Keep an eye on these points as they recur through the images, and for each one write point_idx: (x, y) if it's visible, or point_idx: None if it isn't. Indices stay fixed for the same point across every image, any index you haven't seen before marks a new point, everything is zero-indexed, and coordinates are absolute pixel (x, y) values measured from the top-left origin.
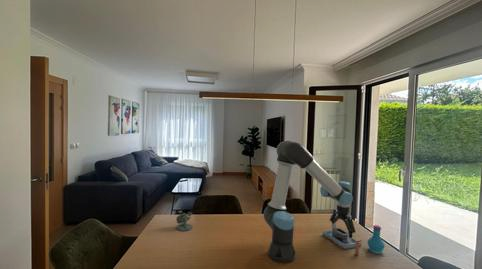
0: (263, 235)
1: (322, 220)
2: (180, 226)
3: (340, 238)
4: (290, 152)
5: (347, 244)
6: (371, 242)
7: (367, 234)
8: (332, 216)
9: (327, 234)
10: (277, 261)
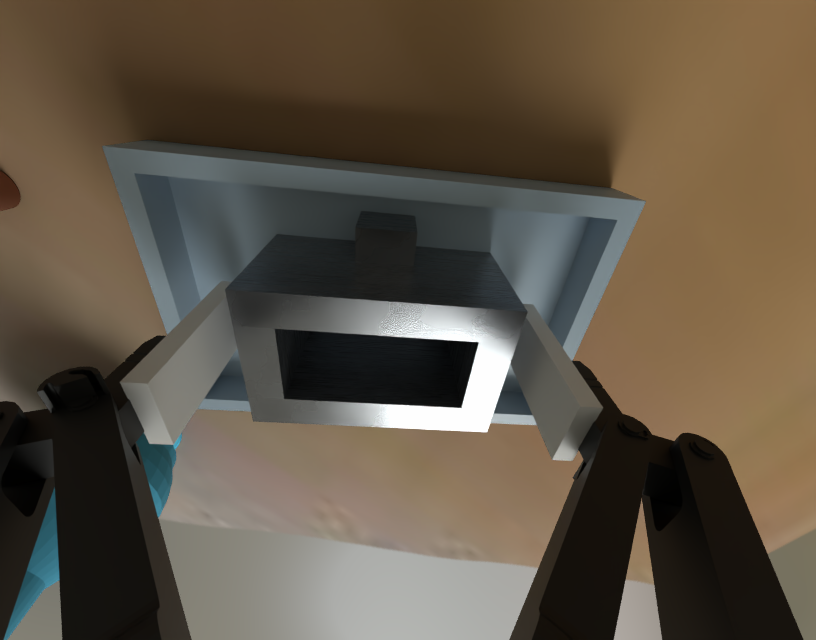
0: None
1: (783, 447)
2: None
3: (316, 258)
4: None
5: (131, 214)
6: None
7: (390, 536)
8: (742, 585)
9: (531, 188)
10: None
